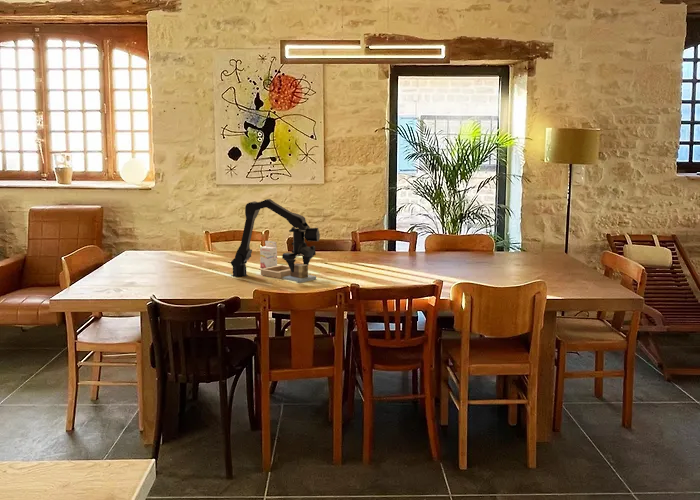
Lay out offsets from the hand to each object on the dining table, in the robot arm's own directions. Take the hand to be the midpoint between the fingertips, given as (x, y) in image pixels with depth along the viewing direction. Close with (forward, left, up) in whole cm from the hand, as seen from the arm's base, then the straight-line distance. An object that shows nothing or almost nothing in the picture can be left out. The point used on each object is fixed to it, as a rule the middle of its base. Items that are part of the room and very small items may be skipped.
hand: (299, 271), depth 380 cm
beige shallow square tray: (+1, +15, -4) cm, 16 cm away
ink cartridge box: (+11, +35, -4) cm, 37 cm away
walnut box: (0, 0, -3) cm, 3 cm away
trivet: (0, 0, -4) cm, 4 cm away
